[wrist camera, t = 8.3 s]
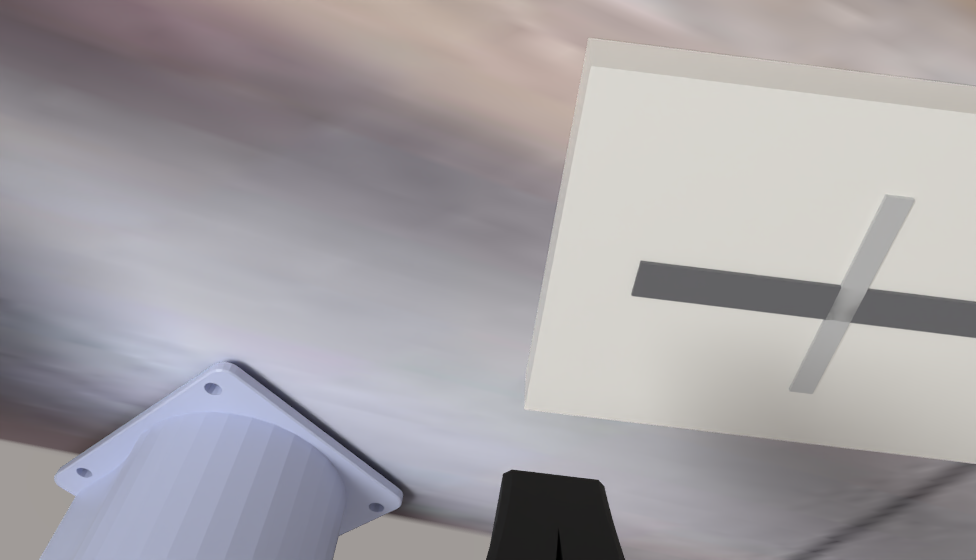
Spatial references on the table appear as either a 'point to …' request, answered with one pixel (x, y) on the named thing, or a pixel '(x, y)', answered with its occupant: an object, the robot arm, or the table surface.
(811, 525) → the table surface
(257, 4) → the table surface
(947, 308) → the fader console
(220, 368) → the robot arm
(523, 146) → the table surface
